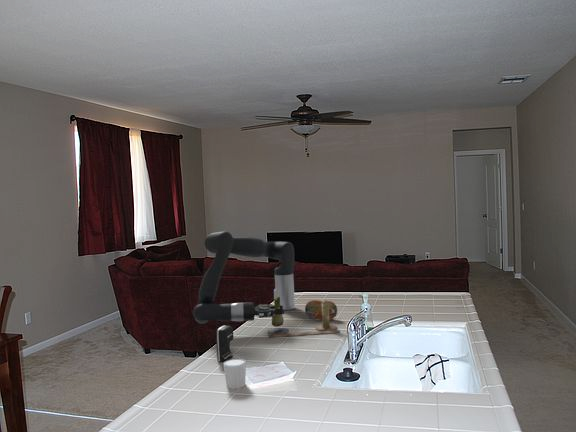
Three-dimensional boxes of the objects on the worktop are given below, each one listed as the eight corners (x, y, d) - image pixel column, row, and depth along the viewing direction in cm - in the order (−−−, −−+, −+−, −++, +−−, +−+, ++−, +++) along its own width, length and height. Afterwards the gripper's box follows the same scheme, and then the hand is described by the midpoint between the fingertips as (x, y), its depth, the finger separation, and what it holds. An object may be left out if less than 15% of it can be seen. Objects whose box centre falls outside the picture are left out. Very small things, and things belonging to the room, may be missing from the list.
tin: (305, 318, 234) (304, 300, 233) (308, 316, 237) (307, 298, 236) (335, 321, 227) (335, 302, 226) (338, 319, 230) (337, 300, 229)
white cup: (238, 390, 151) (236, 367, 151) (219, 387, 155) (218, 364, 154) (251, 383, 157) (250, 360, 157) (234, 379, 161) (232, 357, 160)
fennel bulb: (277, 323, 217) (277, 295, 216) (286, 325, 214) (286, 296, 213) (268, 326, 212) (268, 297, 211) (277, 328, 209) (277, 299, 208)
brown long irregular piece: (268, 337, 205) (267, 308, 204) (267, 329, 217) (265, 301, 217) (340, 333, 207) (339, 303, 207) (334, 325, 220) (333, 297, 219)
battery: (226, 362, 177) (224, 330, 176) (216, 361, 178) (215, 329, 178) (235, 356, 183) (234, 324, 183) (226, 355, 185) (224, 324, 184)
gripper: (242, 306, 204) (284, 304, 206) (242, 299, 218) (281, 297, 220) (242, 325, 204) (285, 322, 206) (242, 316, 219) (282, 314, 220)
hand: (283, 309), depth 213 cm, fingers closed on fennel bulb, 6 cm apart
